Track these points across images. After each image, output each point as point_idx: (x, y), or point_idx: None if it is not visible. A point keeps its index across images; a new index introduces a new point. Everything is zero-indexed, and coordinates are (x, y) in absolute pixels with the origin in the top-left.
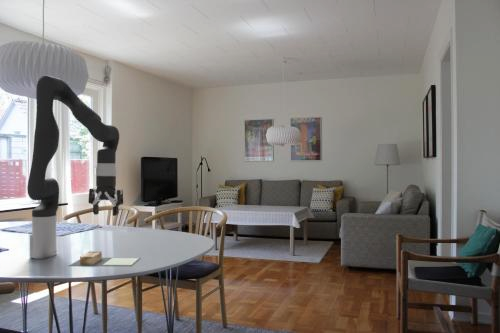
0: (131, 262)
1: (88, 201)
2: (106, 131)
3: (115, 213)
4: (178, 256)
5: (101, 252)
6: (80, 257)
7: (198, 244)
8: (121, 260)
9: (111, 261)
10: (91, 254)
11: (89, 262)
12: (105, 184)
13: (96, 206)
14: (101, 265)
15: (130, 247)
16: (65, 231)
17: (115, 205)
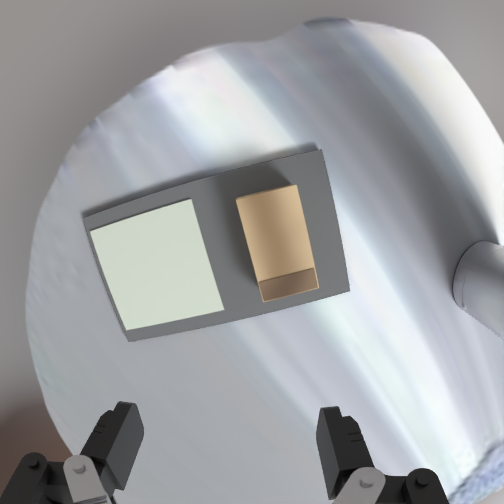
0: (109, 264)
1: (438, 479)
2: None
3: (110, 416)
4: (65, 386)
5: (262, 299)
6: (294, 185)
7: None
8: (162, 283)
9: (189, 257)
10: (272, 238)
11: (252, 194)
12: None
13: (333, 471)
14: (193, 194)
15: (276, 456)
16: (489, 467)
17: (72, 460)
